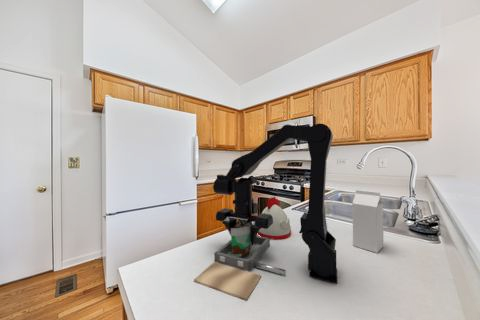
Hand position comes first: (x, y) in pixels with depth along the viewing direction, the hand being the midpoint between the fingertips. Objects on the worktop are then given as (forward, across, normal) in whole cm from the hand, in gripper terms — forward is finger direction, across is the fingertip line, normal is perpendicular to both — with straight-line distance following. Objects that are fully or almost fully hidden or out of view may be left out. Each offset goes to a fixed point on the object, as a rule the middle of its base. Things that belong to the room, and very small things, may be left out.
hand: (243, 243), depth 62 cm
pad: (+3, -2, +14) cm, 15 cm away
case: (+3, 0, 0) cm, 3 cm away
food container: (+3, 0, 0) cm, 3 cm away
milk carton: (+3, -37, -22) cm, 43 cm away
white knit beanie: (+3, -4, -20) cm, 21 cm away
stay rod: (+3, -10, +6) cm, 12 cm away
